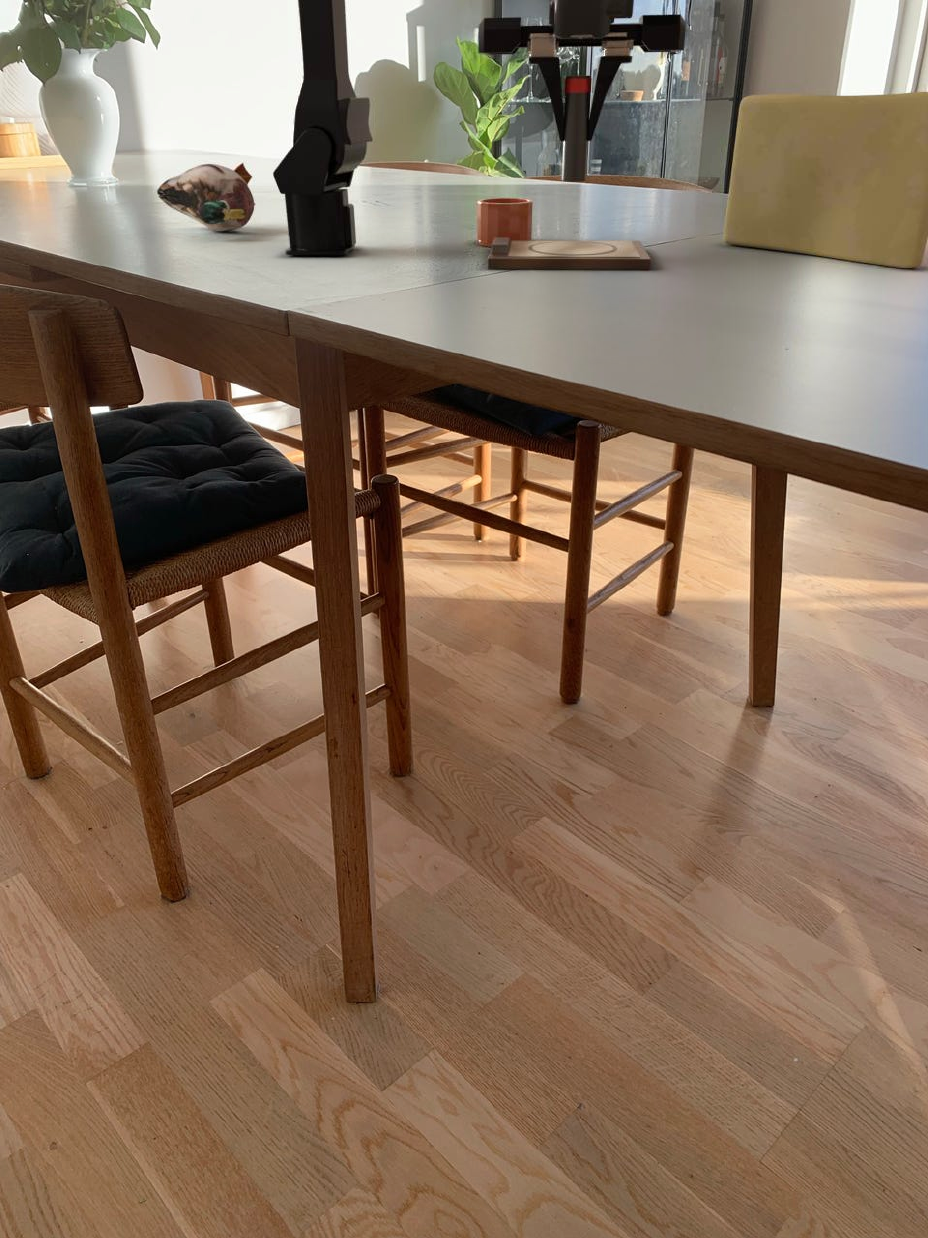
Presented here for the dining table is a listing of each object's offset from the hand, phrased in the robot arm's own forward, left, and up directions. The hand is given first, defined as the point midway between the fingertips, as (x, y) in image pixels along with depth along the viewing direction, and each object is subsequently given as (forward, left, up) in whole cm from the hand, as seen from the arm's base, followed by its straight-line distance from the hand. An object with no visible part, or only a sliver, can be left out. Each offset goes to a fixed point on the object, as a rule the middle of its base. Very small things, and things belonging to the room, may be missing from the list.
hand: (575, 140), depth 89 cm
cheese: (+27, +5, -11) cm, 30 cm away
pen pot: (-7, +12, -11) cm, 18 cm away
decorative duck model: (-45, +20, -11) cm, 51 cm away
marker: (0, 0, -4) cm, 4 cm away
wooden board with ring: (0, +1, -11) cm, 11 cm away
